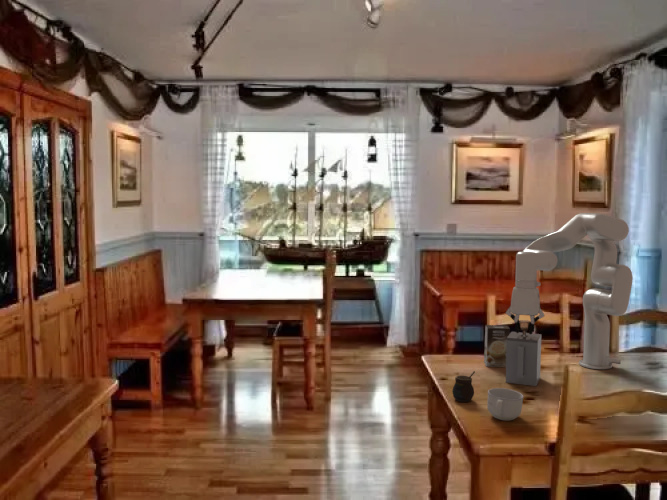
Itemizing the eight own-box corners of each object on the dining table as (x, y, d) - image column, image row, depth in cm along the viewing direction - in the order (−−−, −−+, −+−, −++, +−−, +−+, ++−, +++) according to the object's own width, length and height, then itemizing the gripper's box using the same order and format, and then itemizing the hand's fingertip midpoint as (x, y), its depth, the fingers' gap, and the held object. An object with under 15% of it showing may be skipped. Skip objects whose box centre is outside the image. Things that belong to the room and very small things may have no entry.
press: (540, 378, 238) (541, 334, 236) (535, 388, 225) (536, 342, 223) (510, 374, 242) (511, 331, 241) (504, 384, 230) (505, 339, 228)
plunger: (537, 365, 237) (538, 320, 235) (534, 371, 229) (535, 324, 227) (513, 362, 241) (514, 318, 239) (509, 368, 232) (510, 322, 231)
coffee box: (486, 366, 253) (486, 328, 252) (483, 362, 260) (484, 324, 258) (509, 367, 252) (510, 328, 251) (506, 363, 259) (507, 325, 257)
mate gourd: (447, 398, 215) (448, 369, 214) (466, 396, 217) (467, 367, 217) (459, 404, 208) (460, 375, 207) (478, 402, 211) (479, 373, 210)
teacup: (496, 408, 204) (496, 385, 203) (528, 416, 197) (528, 391, 197) (476, 421, 193) (477, 395, 193) (509, 429, 187) (510, 403, 186)
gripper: (550, 284, 232) (548, 333, 233) (504, 282, 239) (503, 329, 240) (548, 287, 225) (546, 337, 227) (501, 284, 232) (499, 333, 234)
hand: (524, 332), depth 233 cm, fingers closed on plunger, 4 cm apart
